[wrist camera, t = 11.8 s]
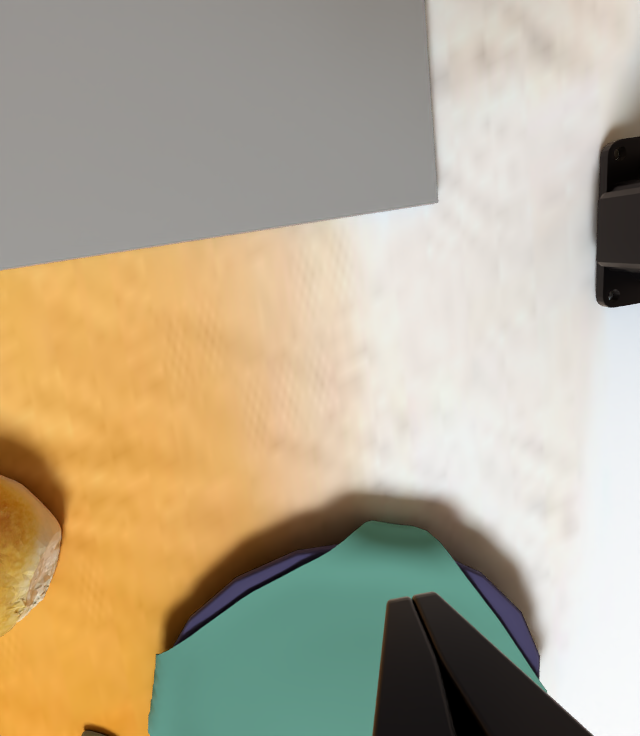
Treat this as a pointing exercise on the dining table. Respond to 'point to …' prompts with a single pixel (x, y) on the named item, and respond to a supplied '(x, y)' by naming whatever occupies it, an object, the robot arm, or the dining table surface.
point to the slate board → (205, 119)
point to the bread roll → (24, 551)
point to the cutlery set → (316, 638)
